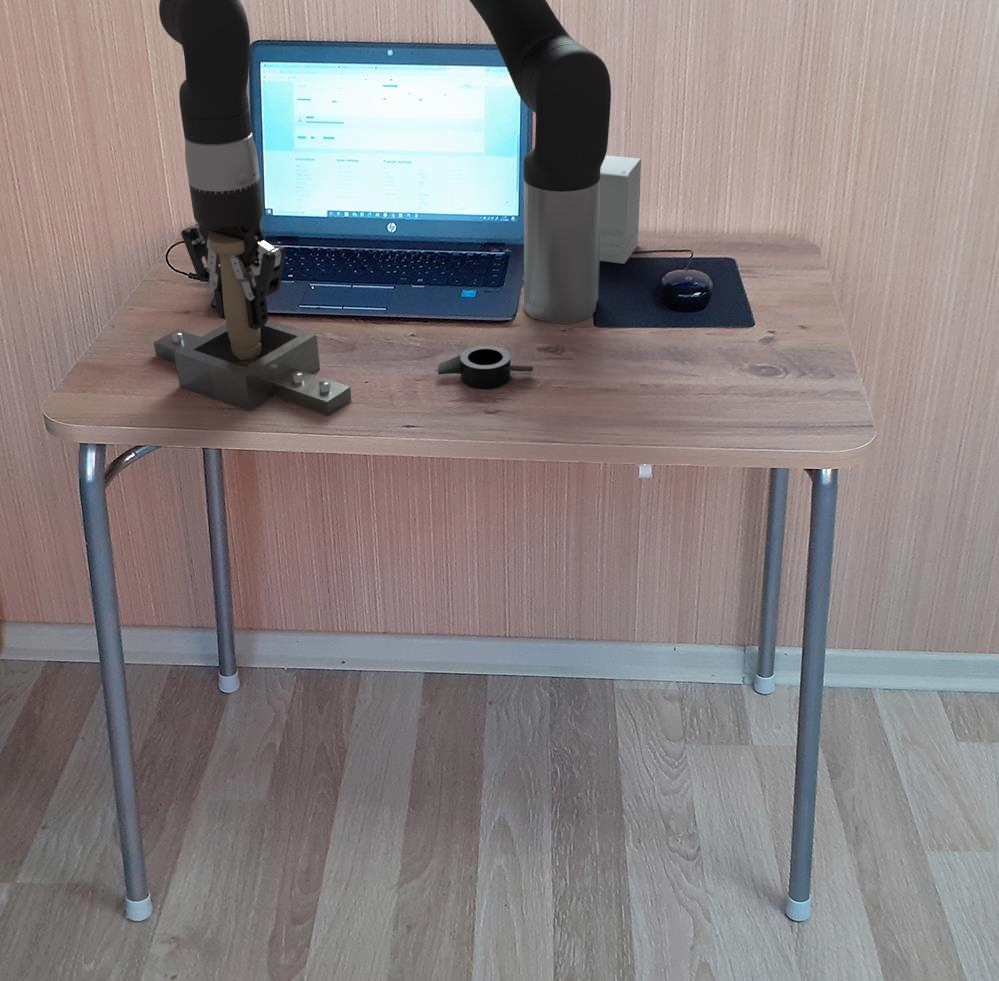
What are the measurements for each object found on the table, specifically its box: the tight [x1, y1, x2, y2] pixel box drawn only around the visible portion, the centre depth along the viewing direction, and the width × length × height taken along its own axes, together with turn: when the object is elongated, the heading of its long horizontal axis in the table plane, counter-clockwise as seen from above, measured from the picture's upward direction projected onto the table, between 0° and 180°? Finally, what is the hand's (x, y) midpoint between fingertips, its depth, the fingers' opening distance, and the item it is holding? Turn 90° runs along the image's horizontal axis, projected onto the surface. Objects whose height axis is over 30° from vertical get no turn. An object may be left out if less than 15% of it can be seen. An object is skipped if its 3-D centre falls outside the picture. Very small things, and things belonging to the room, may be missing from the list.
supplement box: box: [598, 154, 642, 265], centre depth 178 cm, size 7×7×13 cm
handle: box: [208, 231, 261, 360], centre depth 147 cm, size 5×6×15 cm
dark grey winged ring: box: [437, 345, 534, 390], centre depth 151 cm, size 8×10×3 cm
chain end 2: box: [209, 322, 352, 417], centre depth 148 cm, size 14×12×4 cm
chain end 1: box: [153, 318, 281, 400], centre depth 154 cm, size 14×12×4 cm
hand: (243, 320), depth 148 cm, fingers closed on handle, 4 cm apart
